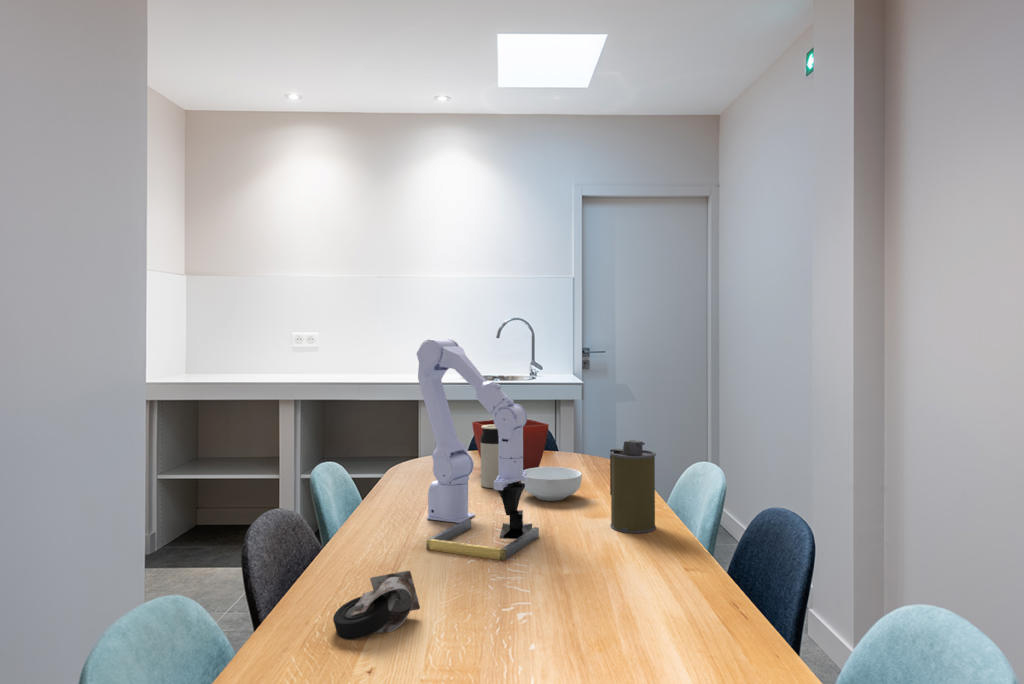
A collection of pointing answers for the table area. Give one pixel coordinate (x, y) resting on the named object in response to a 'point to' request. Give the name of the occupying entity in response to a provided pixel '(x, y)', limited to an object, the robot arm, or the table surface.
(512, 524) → the build plate
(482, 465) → the travel mug
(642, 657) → the table surface
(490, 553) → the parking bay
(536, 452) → the plant pot
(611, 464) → the canister
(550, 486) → the cereal bowl
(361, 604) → the caster wheel
